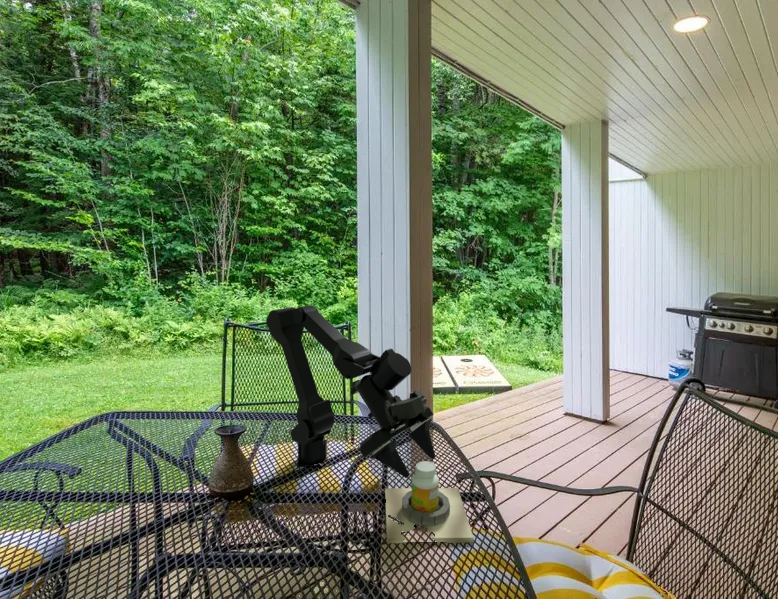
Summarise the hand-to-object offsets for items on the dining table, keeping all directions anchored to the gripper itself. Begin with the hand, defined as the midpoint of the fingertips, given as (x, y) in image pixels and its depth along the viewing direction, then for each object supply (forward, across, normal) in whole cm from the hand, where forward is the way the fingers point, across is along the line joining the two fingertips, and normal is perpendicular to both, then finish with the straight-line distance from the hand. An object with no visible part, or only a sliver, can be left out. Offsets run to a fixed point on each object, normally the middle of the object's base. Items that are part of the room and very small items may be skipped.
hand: (421, 467), depth 90 cm
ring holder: (+8, 0, +6) cm, 10 cm away
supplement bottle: (+7, 0, +6) cm, 9 cm away
